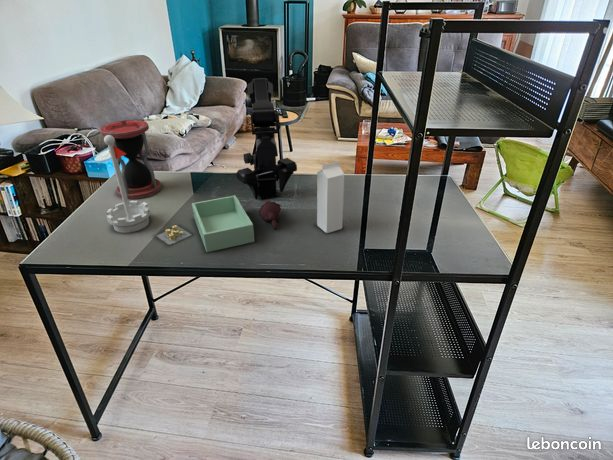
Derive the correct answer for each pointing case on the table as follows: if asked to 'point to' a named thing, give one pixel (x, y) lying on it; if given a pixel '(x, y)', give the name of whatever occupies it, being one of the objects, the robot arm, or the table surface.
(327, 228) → the milk
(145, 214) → the flag stand
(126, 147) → the hourglass
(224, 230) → the green open box
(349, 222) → the table surface
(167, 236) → the dice set
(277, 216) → the icecream
